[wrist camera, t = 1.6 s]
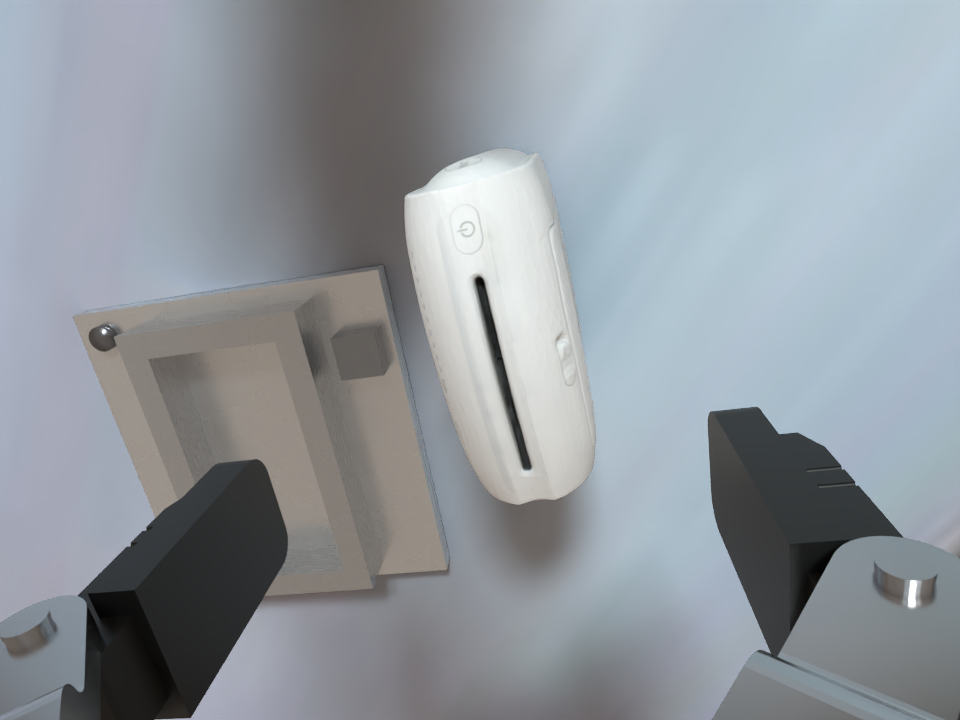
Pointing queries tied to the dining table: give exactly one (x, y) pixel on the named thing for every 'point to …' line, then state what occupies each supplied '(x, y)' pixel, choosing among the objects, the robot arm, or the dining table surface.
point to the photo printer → (504, 323)
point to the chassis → (282, 416)
